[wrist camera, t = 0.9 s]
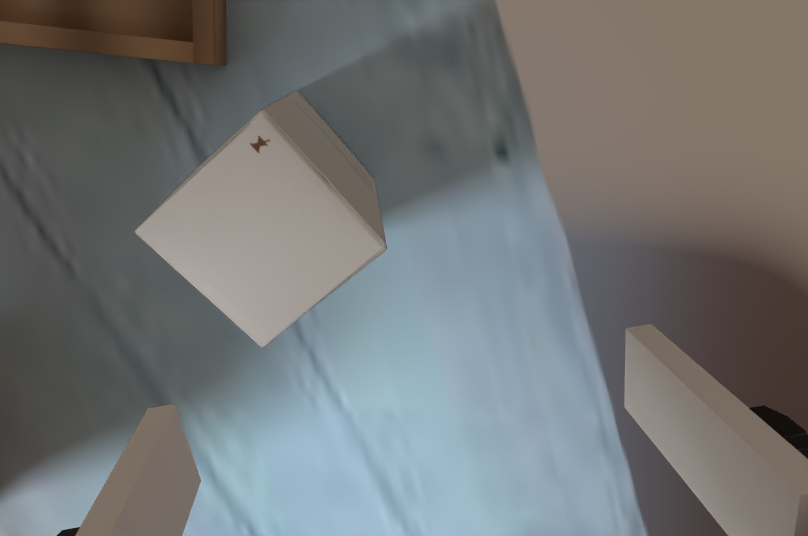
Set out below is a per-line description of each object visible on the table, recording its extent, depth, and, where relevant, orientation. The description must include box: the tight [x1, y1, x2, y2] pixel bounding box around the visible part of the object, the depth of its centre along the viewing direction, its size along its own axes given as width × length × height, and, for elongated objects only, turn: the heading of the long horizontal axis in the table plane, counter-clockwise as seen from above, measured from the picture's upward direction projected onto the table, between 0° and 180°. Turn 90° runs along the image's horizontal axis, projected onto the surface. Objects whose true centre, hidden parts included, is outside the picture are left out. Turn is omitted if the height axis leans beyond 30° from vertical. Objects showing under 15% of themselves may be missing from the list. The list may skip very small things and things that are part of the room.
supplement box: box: [135, 91, 387, 347], centre depth 28 cm, size 7×7×13 cm
